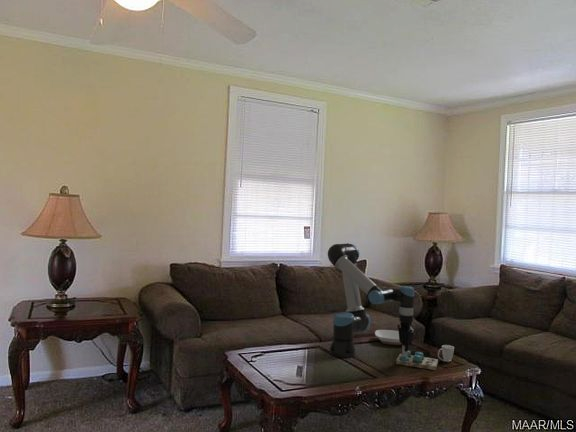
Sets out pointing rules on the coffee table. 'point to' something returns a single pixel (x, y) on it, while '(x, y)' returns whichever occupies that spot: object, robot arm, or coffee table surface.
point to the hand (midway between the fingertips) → (404, 356)
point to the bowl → (388, 337)
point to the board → (426, 363)
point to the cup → (447, 352)
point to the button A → (404, 359)
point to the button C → (417, 358)
